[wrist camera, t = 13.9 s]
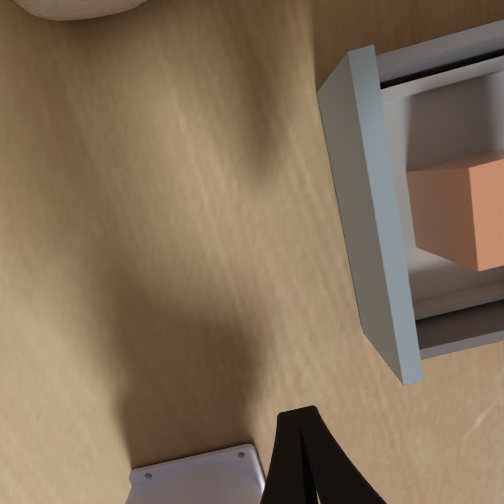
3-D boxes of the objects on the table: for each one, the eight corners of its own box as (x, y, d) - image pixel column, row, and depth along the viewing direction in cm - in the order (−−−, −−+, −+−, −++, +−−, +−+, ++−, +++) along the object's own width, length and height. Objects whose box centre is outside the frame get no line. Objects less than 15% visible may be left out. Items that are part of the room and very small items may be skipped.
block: (416, 247, 18) (478, 271, 13) (405, 172, 17) (468, 167, 12) (491, 228, 18) (583, 246, 13) (485, 151, 17) (582, 138, 12)
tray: (363, 332, 20) (403, 385, 15) (316, 92, 17) (347, 51, 11) (543, 289, 19) (651, 328, 14) (533, 32, 16) (669, -40, 11)
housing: (379, 327, 20) (419, 371, 15) (336, 87, 17) (371, 50, 12) (556, 284, 19) (653, 317, 15) (548, 28, 16) (670, -35, 11)
